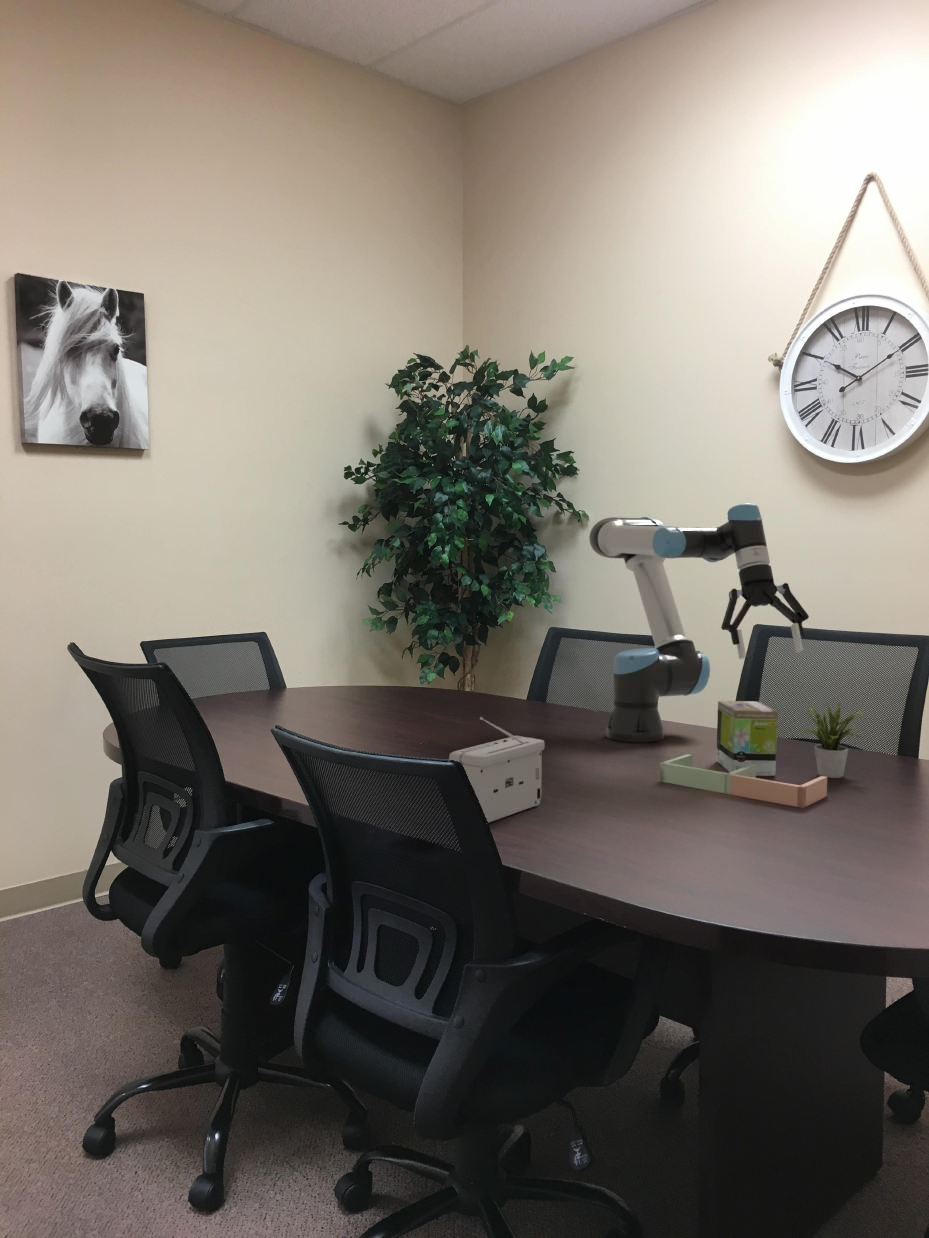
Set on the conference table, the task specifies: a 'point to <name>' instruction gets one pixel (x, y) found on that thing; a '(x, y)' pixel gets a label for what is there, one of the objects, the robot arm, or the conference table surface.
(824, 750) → the house plant
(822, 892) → the conference table surface
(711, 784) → the green bay
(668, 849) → the conference table surface
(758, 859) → the conference table surface
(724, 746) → the tea box
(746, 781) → the terracotta bay
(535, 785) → the stereo radio cassette player
